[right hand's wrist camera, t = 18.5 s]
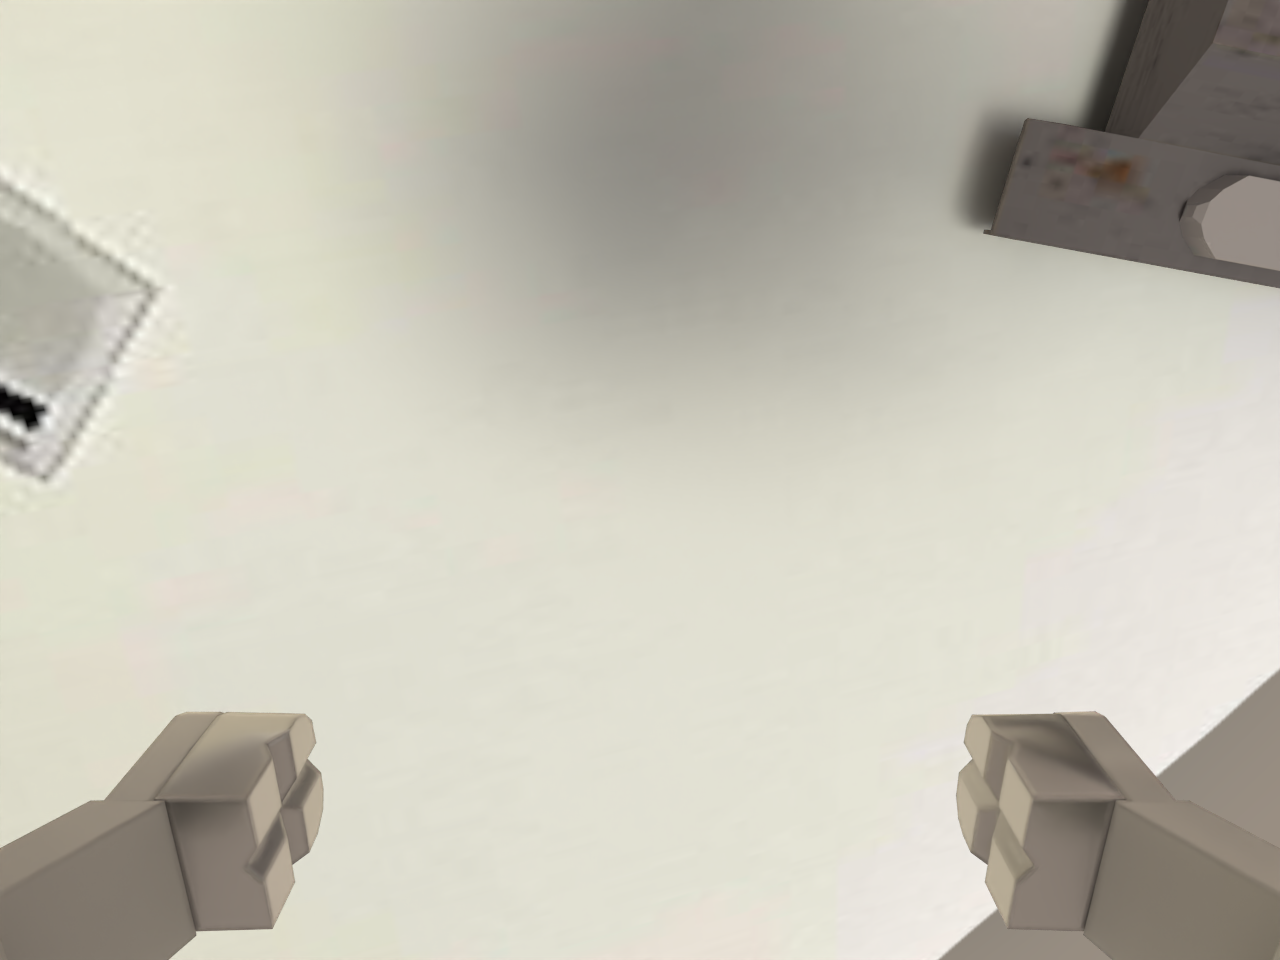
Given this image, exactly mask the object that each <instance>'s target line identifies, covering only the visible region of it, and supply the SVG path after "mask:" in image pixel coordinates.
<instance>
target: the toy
mask: <svg viewBox="0 0 1280 960" xmlns="http://www.w3.org/2000/svg"><path fill="white" fill-rule="evenodd" d="M984 234H989V235H994V236H999V237H1005V238H1010V239H1015V240H1021V241H1026V242H1032V243H1037V244H1043V245H1048V246H1053V247H1059V248H1064V249H1070V250H1075V251H1081V252H1086V253H1091V254H1097V255H1102V256H1108V257H1113V258H1119V259H1124V260H1129V261H1135V262H1140V263H1146V264H1151V265H1157V266H1162V267H1167V268H1173V269H1178V270H1184V271H1189V272H1195V273H1200V274H1205V275H1211V276H1216V277H1222V278H1227V279H1233V280H1238V281H1243V282H1249V283H1254V284H1260V285H1265V286H1271V287H1276V288H1280V0H1149V2H1148V5H1147V8H1146V11H1145V14H1144V17H1143V20H1142V23H1141V26H1140V29H1139V32H1138V35H1137V37H1136V40H1135V43H1134V46H1133V49H1132V52H1131V55H1130V58H1129V61H1128V64H1127V67H1126V70H1125V73H1124V76H1123V79H1122V82H1121V85H1120V88H1119V91H1118V94H1117V97H1116V100H1115V103H1114V106H1113V109H1112V112H1111V114H1110V117H1109V120H1108V123H1107V126H1106V129H1105V132H1102V131H1097V130H1092V129H1087V128H1082V127H1076V126H1071V125H1066V124H1060V123H1054V122H1048V121H1042V120H1036V119H1029V118H1028V119H1026V120H1025V122H1024V125H1023V128H1022V131H1021V135H1020V138H1019V141H1018V144H1017V147H1016V151H1015V154H1014V157H1013V160H1012V164H1011V167H1010V170H1009V173H1008V177H1007V180H1006V183H1005V186H1004V189H1003V193H1002V196H1001V199H1000V202H999V206H998V209H997V212H996V215H995V218H994V222H993V225H992V228H991V230H984Z"/></svg>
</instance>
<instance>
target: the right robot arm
mask: <svg viewBox="0 0 1280 960" xmlns="http://www.w3.org/2000/svg"><path fill="white" fill-rule="evenodd" d="M315 744H316V739H315V734H314V729H313V724H312V720H311V719H310V718H309V717H308V716H307V715H306V714H295V713H248V712H226V713H222V712H185V713H182V714H179V715H177V716H175V717H174V718H173V719H172V720H171V722H170V723H169V724H168V725H167V726H166V728H165V729H164V730H163V731H162V732H161V733H160V735H159V736H158V737H157V738H156V739H155V741H154V742H153V743H152V744H151V745H150V746H149V748H148V749H147V750H146V751H145V752H144V754H143V755H142V756H141V757H140V758H139V760H138V761H137V762H136V763H135V764H134V765H133V767H132V768H131V769H130V770H129V771H128V773H127V774H126V775H125V776H124V777H123V778H122V780H121V781H120V782H119V783H118V784H117V786H116V787H115V788H114V789H113V790H112V791H111V793H110V794H109V795H108V796H107V797H106V799H105V800H104V801H89V802H87V803H85V804H83V805H81V806H79V807H78V808H76V809H74V810H72V811H70V812H68V813H66V814H64V815H62V816H60V817H59V818H57V819H55V820H53V821H51V822H49V823H47V824H45V825H43V826H41V827H40V828H38V829H36V830H34V831H32V832H30V833H28V834H26V835H24V836H22V837H21V838H19V839H17V840H15V841H13V842H11V843H9V844H7V845H5V846H3V847H2V848H0V960H169V959H170V958H171V957H172V956H173V955H174V954H175V953H177V952H178V951H179V950H180V949H181V948H182V947H184V946H185V945H186V944H187V943H188V942H189V941H191V940H192V939H193V938H194V937H195V936H196V931H220V930H254V929H273V927H274V925H275V923H276V921H277V918H278V916H279V914H280V912H281V910H282V908H283V906H284V904H285V902H286V900H287V898H288V896H289V894H290V892H291V890H292V887H293V885H294V883H295V878H294V872H293V867H292V865H293V864H294V863H295V862H297V861H298V860H300V859H301V858H302V857H304V856H305V855H306V854H308V853H309V852H310V850H311V847H312V845H313V843H314V841H315V839H316V836H317V834H318V830H319V826H320V821H321V817H322V812H323V783H322V776H321V772H320V771H319V770H318V769H317V768H316V767H315V766H314V765H313V764H312V763H311V762H310V761H309V760H308V757H309V755H310V753H311V751H312V749H313V748H314V746H315ZM964 744H965V746H966V748H967V749H968V751H969V753H970V755H971V757H972V760H971V761H970V762H969V763H968V764H967V765H966V766H965V767H964V768H963V769H962V770H961V771H960V772H959V776H958V785H957V793H956V799H957V810H958V819H959V823H960V826H961V830H962V834H963V837H964V839H965V841H966V843H967V845H968V848H969V850H970V852H971V853H972V854H974V855H975V856H976V857H978V858H979V859H980V860H982V861H983V862H985V863H986V864H987V865H988V867H987V872H986V878H985V883H986V885H987V887H988V890H989V892H990V894H991V896H992V898H993V900H994V902H995V904H996V906H997V908H998V910H999V912H1000V914H1001V916H1002V918H1003V920H1004V922H1005V924H1006V927H1007V929H1024V930H1059V931H1084V934H1083V935H1084V936H1085V937H1086V938H1088V939H1089V940H1090V941H1091V942H1092V943H1093V944H1095V945H1096V946H1097V947H1098V948H1099V949H1100V950H1101V951H1103V952H1104V953H1105V954H1106V955H1107V956H1108V957H1110V958H1111V959H1112V960H1280V848H1278V847H1276V846H1274V845H1273V844H1271V843H1269V842H1267V841H1265V840H1263V839H1261V838H1259V837H1257V836H1255V835H1254V834H1252V833H1250V832H1248V831H1246V830H1244V829H1242V828H1240V827H1238V826H1236V825H1235V824H1233V823H1231V822H1229V821H1227V820H1225V819H1223V818H1221V817H1219V816H1218V815H1216V814H1214V813H1212V812H1210V811H1208V810H1206V809H1204V808H1202V807H1200V806H1199V805H1197V804H1195V803H1193V802H1191V801H1176V800H1175V799H1174V798H1173V796H1172V795H1171V794H1170V793H1169V792H1168V790H1167V789H1166V788H1165V787H1164V786H1163V784H1162V783H1161V782H1160V781H1159V780H1158V779H1157V777H1156V776H1155V775H1154V774H1153V773H1152V771H1151V770H1150V769H1149V768H1148V767H1147V766H1146V764H1145V763H1144V762H1143V761H1142V760H1141V758H1140V757H1139V756H1138V755H1137V754H1136V753H1135V751H1134V750H1133V749H1132V748H1131V747H1130V745H1129V744H1128V743H1127V742H1126V741H1125V740H1124V738H1123V737H1122V736H1121V735H1120V734H1119V732H1118V731H1117V730H1116V729H1115V728H1114V727H1113V725H1112V724H1111V723H1110V722H1109V721H1108V719H1107V718H1106V717H1105V716H1103V715H1101V714H1099V713H1097V712H1095V711H1091V712H1058V713H1053V714H985V715H972V716H971V718H970V720H969V722H968V724H967V727H966V733H965V738H964Z"/></svg>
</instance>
